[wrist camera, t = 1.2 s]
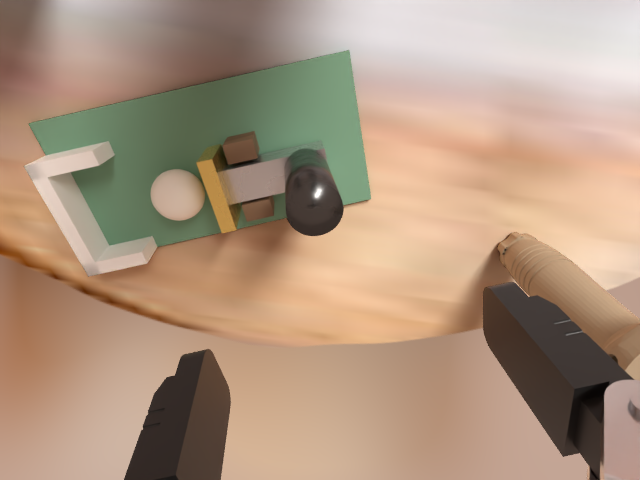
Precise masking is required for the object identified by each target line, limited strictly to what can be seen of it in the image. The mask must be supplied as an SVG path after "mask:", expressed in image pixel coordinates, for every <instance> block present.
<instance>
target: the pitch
mask: <svg viewBox="0 0 640 480" xmlns="http://www.w3.org/2000/svg"><path fill="white" fill-rule="evenodd" d="M29 126H30V127H31V129H32V131H33V133H34V135H35V137H36V138H37V140H38V142H39V144H40V146H41V147H42V149H43V151H44V153H45V155H50V154H54V153H59V152H63V151H67V150H72V149H76V148H81V147H85V146H89V145H94V144H98V143H103V142H107V141H109V143H110V145H111V148H112V150H113V152H114V154H115V155H114V156H113V157H111V158H110V159H108V160H107V161H105V162H104V163H102V164H101V165H99V166H95V167H90V168H86V169H82V170H77V171H73V172H71V174H72V176H73V178H74V180H75V182H76V184H77V186H78V188H79V189H80V191H81V193H82V195H83V197H84V199H85V201H86V203H87V204H88V206H89V208H90V210H91V212H92V214H93V216H94V218H95V220H96V221H97V223H98V225H99V227H100V229H101V231H102V233H103V235H104V237H105V238H106V240H107V242H108V244H109V246H110V245H115V244H119V243H124V242H128V241H132V240H137V239H141V238H146V237H150V236H153V238H154V240H155V243H156V245H157V247H159V246H164V245H168V244H172V243H177V242H181V241H186V240H190V239H195V238H199V237H204V236H208V235H213V234H217V233H222V232H221V229H220V227H219V224H218V221H217V218H216V216H215V213H214V210H213V207H212V205H211V202H210V199H209V196H208V194H207V191H206V188H205V185H204V183H203V180H202V177H201V174H200V172H199V169H198V166H197V163H196V162H197V161H198V159H199V158H200V157H201V155H202V154H203V152H204V151H205V150H206V148H207V147H210V146H214V145H219V144H221V145H223V144H224V142H225V140H226V138H227V137H230V136H234V135H239V134H243V133H248V132H252V131H255V134H256V138H257V141H258V145H259V154H262V153H267V152H271V151H276V150H280V149H285V148H289V147H293V146H298V145H302V144H307V143H311V142H316V141H320V140H321V141H322V143H323V146H324V148H325V153H326V158H327V163H328V166H329V168H330V171H331V173H332V176H333V178H334V181H335V184H336V186H337V189H338V191H339V194H340V196H341V199H342V202H343V205H347V204H351V203H356V202H360V201H365V200H369V199H371V195H370V188H369V181H368V174H367V168H366V161H365V154H364V147H363V141H362V134H361V127H360V120H359V113H358V107H357V100H356V93H355V86H354V80H353V73H352V66H351V59H350V53H349V50H348V51H343V52H339V53H335V54H330V55H326V56H321V57H317V58H313V59H308V60H304V61H299V62H295V63H291V64H286V65H282V66H278V67H273V68H269V69H264V70H260V71H256V72H251V73H247V74H243V75H238V76H234V77H229V78H225V79H221V80H216V81H212V82H207V83H203V84H199V85H194V86H190V87H186V88H181V89H177V90H172V91H168V92H164V93H159V94H155V95H150V96H146V97H142V98H137V99H133V100H129V101H124V102H120V103H115V104H111V105H107V106H102V107H98V108H94V109H89V110H85V111H80V112H76V113H72V114H67V115H63V116H58V117H54V118H50V119H45V120H41V121H37V122H32V123H29ZM222 148H223V146H222ZM223 152H224V150H223ZM224 155H225V153H224ZM225 158H226V156H225ZM226 161H227V159H226ZM172 169H181V170H185V171H188V172H190V173H192V174H194V175H195V176H196V177H197V178H198V179H199V180H200V182H201V183H202V185H203V187H204V191H205V201H204V204H203V207H202V208H201V210H200V211H199V212H198V213H197V214H196V215H195V216H193V217H192V218H189V219H186V220H181V221H177V220H171V219H168V218H166V217H164V216H162V215H161V214H160V213H159V212H158V211H157V210H156V209H155V207H154V206H153V204H152V201H151V194H150V193H151V187H152V184H153V182H154V181H155V179H156V178H157V177H158V176H159V175H160V174H162V173H163V172H165V171H168V170H172ZM273 199H274V202H275V203H274V216H271V217H267V218H262V219H258V220H253V221H249V222H247V221H246V218H245V214H244V211H243V208H242V209H241V213H240V217H239V221H238V226H237V229H239V228H244V227H248V226H253V225H257V224H262V223H266V222H271V221H275V220H280V219H284V218H287V216H286V205H285V192H284V193H280V194H276V195H273ZM240 204H241V207H242V202H240Z"/></svg>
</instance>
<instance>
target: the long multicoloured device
mask: <svg viewBox="0 0 640 480" xmlns="http://www.w3.org/2000/svg"><path fill="white" fill-rule="evenodd" d="M196 163H197V166H198V169H199V172H200V174H201V177H202V180H203V183H204V185H205V188H206V191H207V194H208V196H209V199H210V202H211V205H212V207H213V210H214V213H215V216H216V218H217V221H218V224H219V227H220V229H221V232H222V233H227V232H231V231H236V230H237V226H238V221H239V217H240V213H241V209H242V207H241V204H240V202H244V201H249V200H253V199H258V198H262V197H267V196H271V195H276V194H280V193H284V192H285V205H286V216H287V219H288V221H289V223H290V225H291V226H292V227H293V228H294V229H295V230H296V231H298V232H300V233H302V234H304V235H308V236H319V235H323V234H326V233H328V232H330V231H331V230H333V229H334V228H335V227H336V226H337V225H338V223H339V222H340V220H341V218H342V215H343V202H342V199H341V196H340V194H339V191H338V189H337V186H336V184H335V181H334V178H333V176H332V173H331V171H330V168H329V166H328V163H327V158H326V153H325V148H324V146H323V143H322V141H321V140H320V141H316V142H311V143H307V144H302V145H298V146H293V147H289V148H285V149H280V150H276V151H271V152H267V153H262V154H258V158H256V159H252V160H248V161H243V162H239V163H234V164H230V165H228V162H227V161H226V158H225V155H224V152H223V148H222V145H221V144H219V145H214V146H210V147H207V148H206V150H205V151H204V152H203V154H202V155H201V157H200V158H199V159H198V161H197V162H196Z"/></svg>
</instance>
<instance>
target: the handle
mask: <svg viewBox="0 0 640 480" xmlns="http://www.w3.org/2000/svg"><path fill="white" fill-rule="evenodd" d="M498 250H499V252H500V257H499V259H500V261H501V263H502V264H503V265H504V267H505V268H507V269H508V271H509V273H510V274H511V275H512V277H513V278H514V279H515V281H516V282H517V283H518V284H519V286H520V287H521V288H522V289H523V290H524V291H525V292H526V293H527V294H528V295H529V296H530V297H531V296H536V295H538V296H540V297H542V298H544V299H546V300H548V301H550V302H552V303H554V304H556V305H557V306H558V307H559V308H560V309H561V310H562V311H563V312H564V313H565V314H566V315H567V316H569V317H570V318H571V321H574V322H575V323H576V324H577V325H578V326H579V327H580V328H581V329H582V331H583V333H586V334H587V335H588V336H589V337H590V338H591V339H592V340H593V341H594V342H595V343H597V344H598V345H599V346H600V347H601V348H602V349H603V350H604V351H605V352H606V353H607V354H608V355H609V356H610V357H611V358H612V359H613V360H614V361H615V362H616V363H617V364H618V365H619V366H620V367H621V368H622V369H623V370H624V371H626V372H627V373H628V374H629V375H630V376H631V377H632V378H633V379H634V380H639V381H640V319H639V318H638V317H636V316H635V315H634V314H633V313H631V312H630V311H629V310H628V309H627V308H626V307H624V306H623V305H622V304H621V303H620V302H618V301H617V300H616V299H615V298H614V297H612V296H611V295H610V294H609V293H608V292H607V291H605V290H604V289H603V288H602V287H601V286H600V285H599V284H598V283H596V282H595V281H594V280H593V279H592V278H591V277H590V276H588V275H587V274H586V273H585V272H584V271H583V270H582V269H580V268H579V267H578V266H577V265H576V264H574V263H573V262H572V261H571V260H569V259H568V258H567V257H565V256H564V255H562V254H561V253H560V252H558V251H556V250H555V249H553V248H551V247H550V246H548V245H546V244H544V243H542V242H540V241H538V240H537V239H536V238H534V237H533V236H531V235H529V234H522V235H521V234H519V233H517V232H514V233H511V234H510V235H509V237H508V238H507V239H505V240H504V241H502V242H500V244H499V245H498Z"/></svg>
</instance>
